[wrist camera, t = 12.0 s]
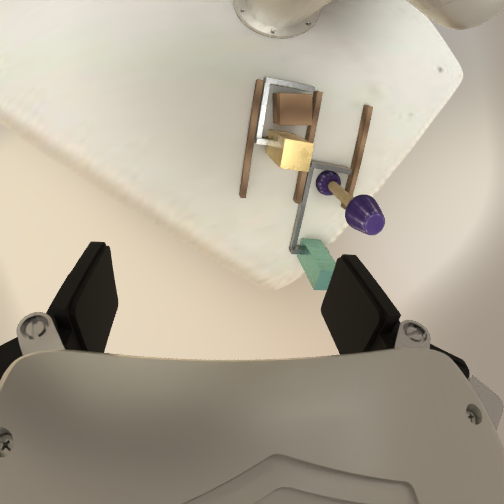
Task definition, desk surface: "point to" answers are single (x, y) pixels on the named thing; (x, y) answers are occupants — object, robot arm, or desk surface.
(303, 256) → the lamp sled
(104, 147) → the desk surface
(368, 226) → the toy lamp
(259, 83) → the lane rails
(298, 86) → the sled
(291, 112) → the walnut cube
